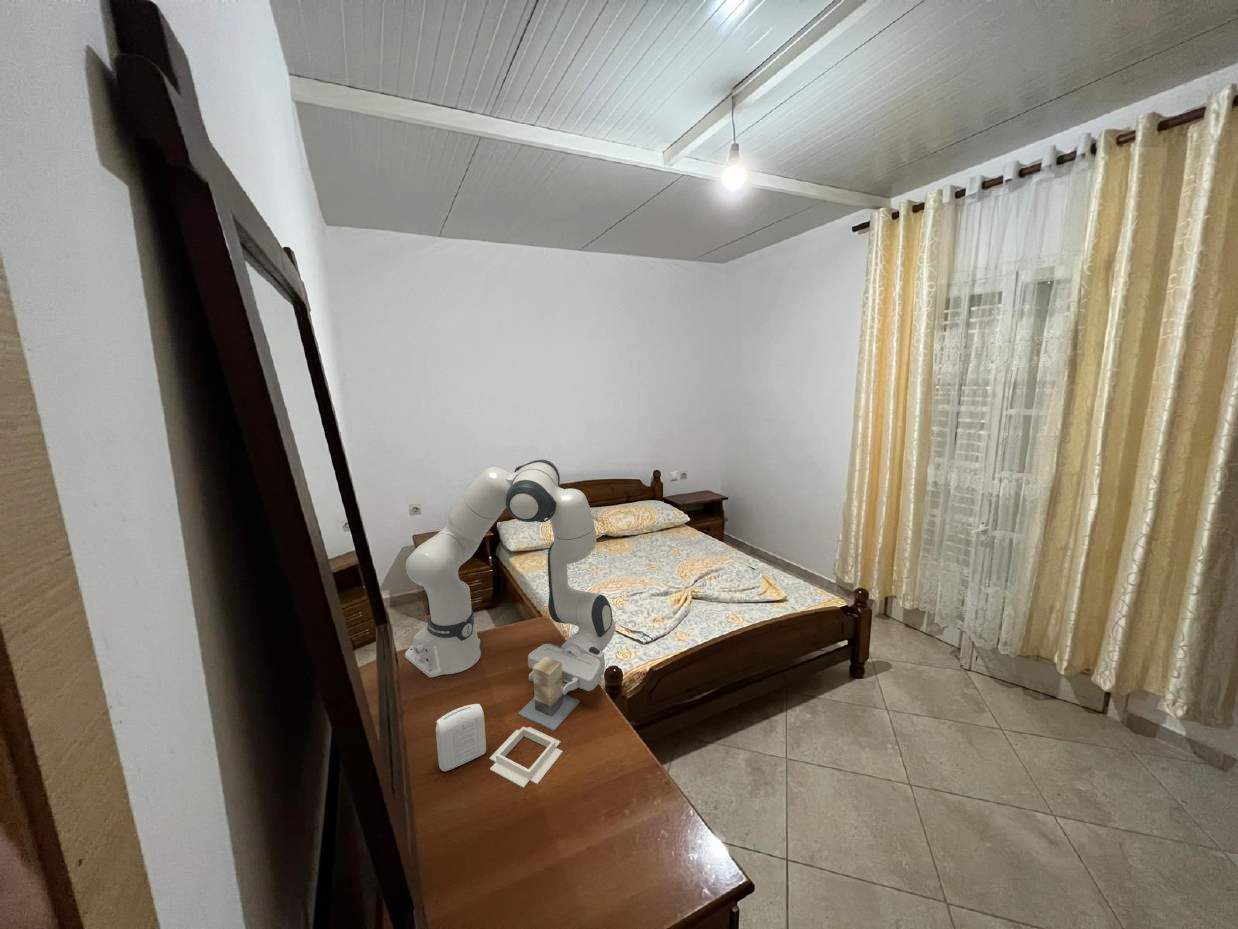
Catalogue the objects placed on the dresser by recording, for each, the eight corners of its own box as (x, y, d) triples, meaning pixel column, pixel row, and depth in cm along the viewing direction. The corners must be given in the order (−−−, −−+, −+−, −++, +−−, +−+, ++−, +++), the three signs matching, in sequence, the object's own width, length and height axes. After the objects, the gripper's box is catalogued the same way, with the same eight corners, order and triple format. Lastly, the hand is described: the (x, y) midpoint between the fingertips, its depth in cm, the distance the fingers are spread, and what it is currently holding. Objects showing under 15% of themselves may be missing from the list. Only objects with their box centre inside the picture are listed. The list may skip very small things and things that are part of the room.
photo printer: (483, 740, 109) (479, 695, 106) (489, 753, 106) (485, 707, 103) (437, 761, 104) (431, 714, 101) (441, 776, 100) (436, 727, 97)
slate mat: (518, 715, 117) (518, 713, 117) (545, 687, 126) (545, 686, 126) (554, 731, 112) (554, 730, 112) (579, 702, 121) (579, 700, 121)
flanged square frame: (483, 766, 103) (482, 758, 102) (522, 724, 114) (521, 717, 113) (531, 792, 97) (530, 784, 96) (567, 745, 108) (567, 738, 107)
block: (535, 709, 118) (533, 667, 115) (547, 696, 122) (545, 656, 119) (551, 716, 116) (549, 674, 113) (563, 703, 120) (561, 662, 117)
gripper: (545, 633, 132) (512, 661, 120) (609, 655, 123) (580, 687, 111) (546, 652, 134) (514, 682, 122) (609, 675, 124) (580, 710, 113)
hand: (546, 685), depth 116 cm, fingers open, 8 cm apart
